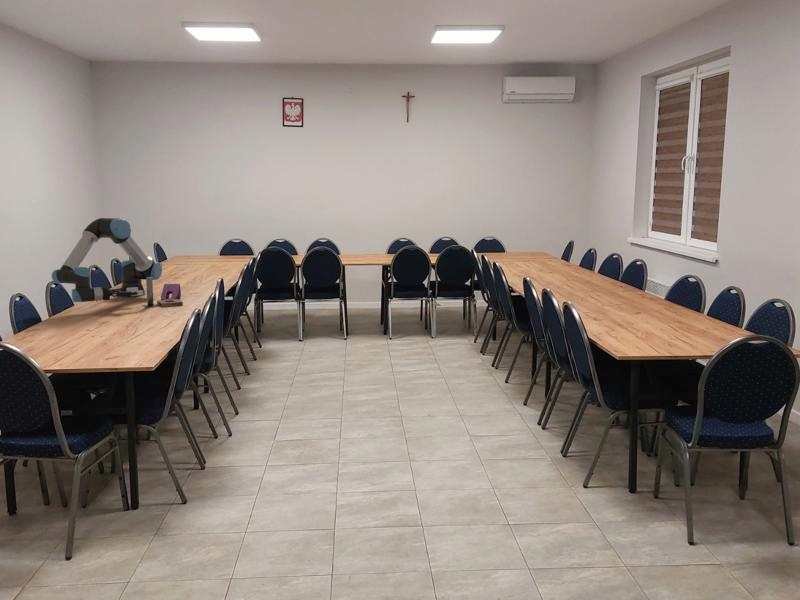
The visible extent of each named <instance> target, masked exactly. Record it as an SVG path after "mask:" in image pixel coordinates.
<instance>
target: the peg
mask: <svg viewBox="0 0 800 600" xmlns="http://www.w3.org/2000/svg"><path fill="white" fill-rule="evenodd" d="M145 281H146V282H145V284H146V301H147V304H146V305H147V306H148V307H152V306H154V286H153V284H154V283H153V280H152V277H146V280H145Z"/></svg>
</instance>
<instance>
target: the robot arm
mask: <svg viewBox="0 0 800 600" xmlns="http://www.w3.org/2000/svg"><path fill="white" fill-rule="evenodd" d="M131 233H132V229H131V225H130V222H129V221H127V220H126V219H125V218H119V217H115V218H113V217H100V218H97V219H95V220H93V221H91V223H89V224H88V225H87V226H86V227H85V228H84V230H83V231H82V233H81V237H80V239H79V240H78V242H77V243H76V245H75V246H74V248H73V250H72V251H71V252H70V254H69V255H68V256H67V258H66V260H65V261H64V262H63V264H62V265H61V267H60V269H55V270H53V271H52V273H51V279H52V281H53V282H54V283H56V284H57V283H58V284H71V285H72V284H73V285H75V288H73V289H71V299H72V302H73V303H85V302H86V303H88V302H96V303H98V301H109V300H110V299H111V297H112V298H117V297H118V298H120V297H121V298H122V297H126V298H127V297H128V298H132V297H142V296H144V295H146V291H145V288H144V285H143V283H142V280H145V281H146V277H152V281H158V280H160V278H161V277H162V273H163V265H162V264H161V262H158V261H154V259H153V258H152V257H151V256H148V255H146V254H145V252H144V250H143V249H142V248H141V247H140V246H139V244H138V243H137V242H136V241H135V240H134V238H133V237H132V235H131ZM102 238H103V239H110V240H111V241H112V242H113V243H114V244H116V245H119V246H120V248H121V249H122V250H123V251H124V252H125V254H126V255H127V256H128V257H129V259H126V260H125V259H124V260H122V262H121V280H122V281H121V283H122V285H121V287H119V288H111V289H110V287H109V286H102V287H101V286H100V287H91V282H90V269H89V268H88V267H85V266H81V263H83V261H84V259H86V256H87V254H88V253H89V252H90V250H91V249H92V247H93V246H94V245H95V244H97V243H98V242H99V240H100V239H102Z"/></svg>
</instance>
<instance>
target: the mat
mask: <svg viewBox="0 0 800 600" xmlns="http://www.w3.org/2000/svg"><path fill="white" fill-rule="evenodd" d="M153 304H154V303H153ZM141 306H142V307H143V308H145V309H151V308H160V306H159V305H158V304H156V303H155V304H154V306H152V307H148V306H147V304H144V305H141Z"/></svg>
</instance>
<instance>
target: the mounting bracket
mask: <svg viewBox="0 0 800 600" xmlns="http://www.w3.org/2000/svg"><path fill="white" fill-rule="evenodd" d="M170 295H171V297H170ZM181 297H182V290H181V284H180V283H164V285H163V288H162V291H161V295H160V300H172V299H178V300H180V299H181Z"/></svg>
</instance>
